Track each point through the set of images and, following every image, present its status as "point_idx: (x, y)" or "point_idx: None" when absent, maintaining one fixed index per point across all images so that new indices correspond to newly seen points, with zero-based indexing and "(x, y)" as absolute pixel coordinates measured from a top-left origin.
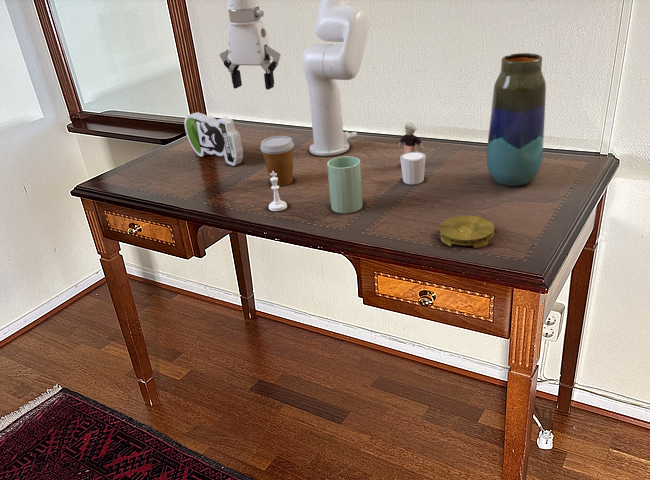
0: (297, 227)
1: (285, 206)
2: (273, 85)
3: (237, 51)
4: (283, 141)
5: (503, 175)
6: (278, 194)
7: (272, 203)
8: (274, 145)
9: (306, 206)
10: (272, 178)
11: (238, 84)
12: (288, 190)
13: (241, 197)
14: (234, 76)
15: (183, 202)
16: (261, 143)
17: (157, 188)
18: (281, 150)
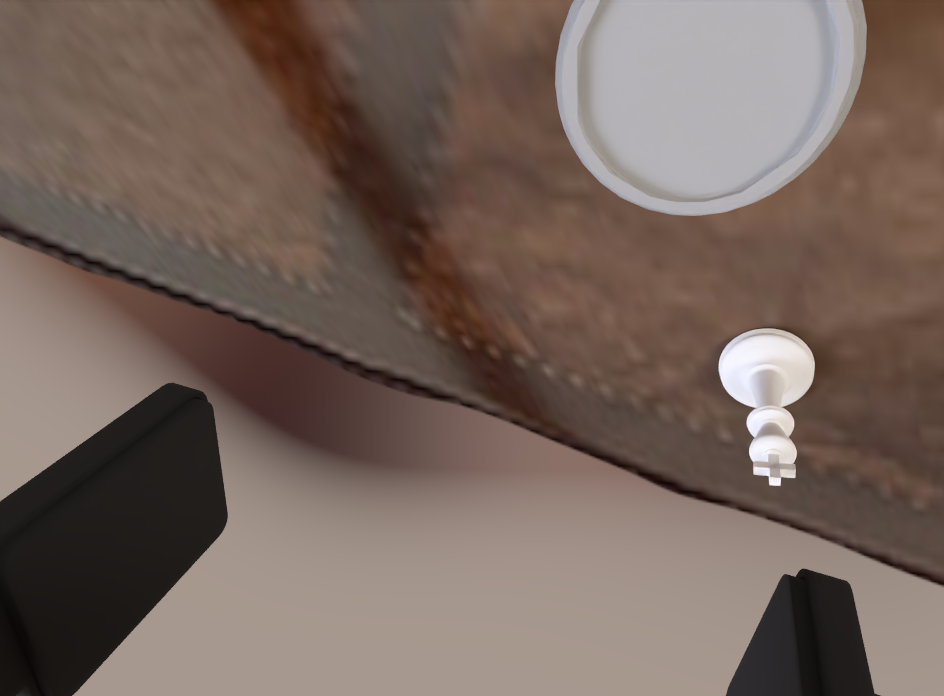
0: (900, 538)
1: (810, 382)
2: (847, 599)
3: None
4: (761, 51)
5: None
6: (781, 401)
7: (740, 380)
8: (697, 158)
9: (927, 363)
10: (765, 461)
11: (196, 491)
12: None
13: (543, 264)
14: (103, 658)
15: (324, 312)
16: (576, 143)
17: (137, 182)
18: (769, 193)
